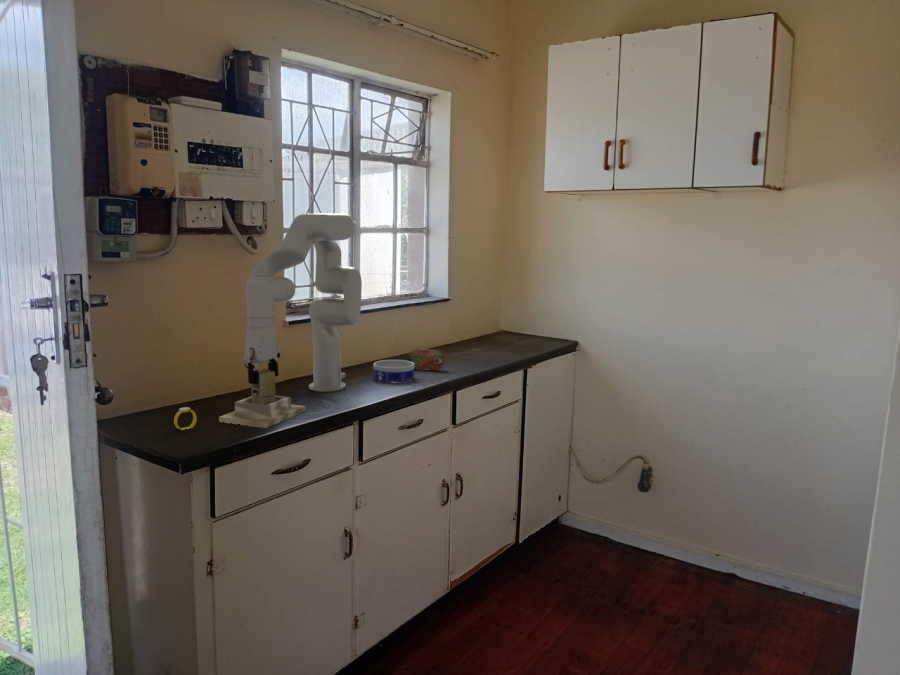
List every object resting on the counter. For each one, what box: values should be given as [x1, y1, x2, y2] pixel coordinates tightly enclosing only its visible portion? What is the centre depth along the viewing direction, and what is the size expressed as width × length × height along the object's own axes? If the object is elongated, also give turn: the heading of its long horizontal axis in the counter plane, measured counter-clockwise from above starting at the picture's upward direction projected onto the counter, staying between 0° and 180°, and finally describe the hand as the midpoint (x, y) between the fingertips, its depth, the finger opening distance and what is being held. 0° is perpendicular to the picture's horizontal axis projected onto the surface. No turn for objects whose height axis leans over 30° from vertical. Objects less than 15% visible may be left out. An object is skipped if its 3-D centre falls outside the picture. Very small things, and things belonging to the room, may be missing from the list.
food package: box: [406, 348, 446, 371], centre depth 271 cm, size 15×3×8 cm, turn 76°
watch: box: [173, 406, 198, 431], centre depth 187 cm, size 6×3×6 cm, turn 139°
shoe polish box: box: [251, 368, 276, 405], centre depth 201 cm, size 5×5×12 cm
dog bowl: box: [372, 359, 415, 383], centre depth 254 cm, size 15×15×6 cm
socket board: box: [218, 395, 306, 429], centre depth 201 cm, size 20×16×5 cm
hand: (263, 379), depth 200 cm, fingers open, 9 cm apart
